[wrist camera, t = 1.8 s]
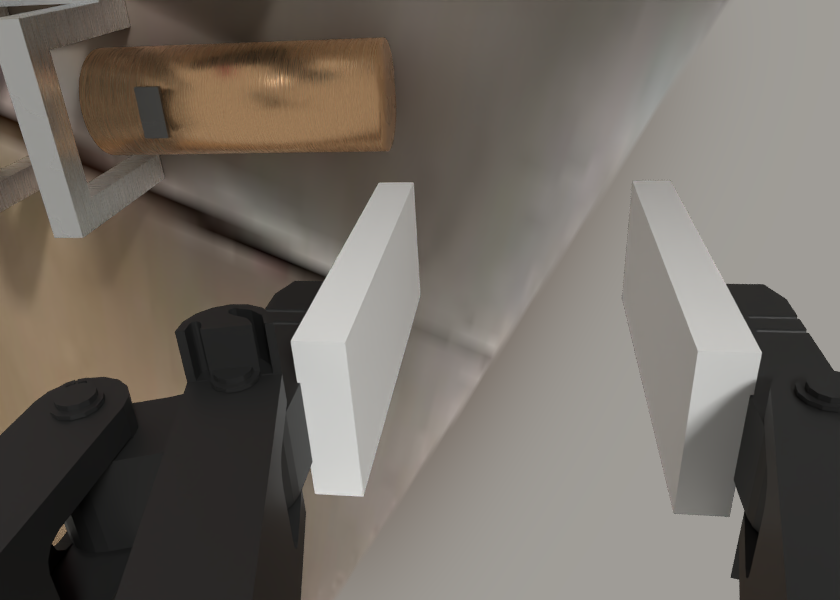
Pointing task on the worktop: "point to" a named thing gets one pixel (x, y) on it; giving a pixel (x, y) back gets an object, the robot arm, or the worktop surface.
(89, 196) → the grey slatted rack
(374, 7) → the worktop surface
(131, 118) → the tube
